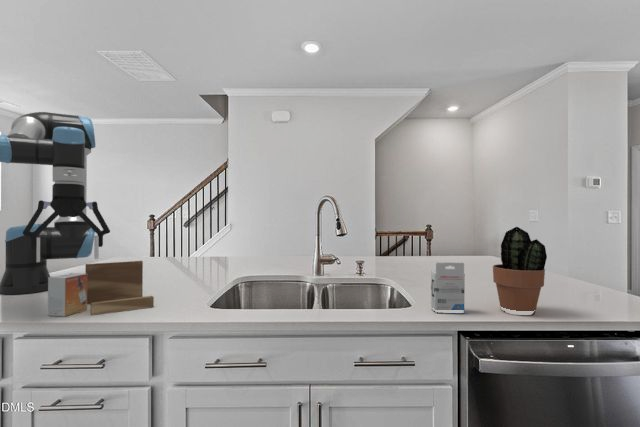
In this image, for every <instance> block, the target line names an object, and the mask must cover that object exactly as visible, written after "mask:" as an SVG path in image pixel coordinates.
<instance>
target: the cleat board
mask: <svg viewBox="0 0 640 427" xmlns="http://www.w3.org/2000/svg"><path fill="white" fill-rule="evenodd" d="M143 264H144V262H143V260H131V261H129V260H128V261H115V262H99V263H86V264H85V271H84V272H85V273H84V274H87V275H88V276H87V305H90V315H91V316H93V315H95V316H97V315H103V314H110V313H119V312H125V311H133V310H142V308H143V309H148V308H149V307H150V308H154V307H155V305H154V302H155V300H154V296H153V295H148V296H143V290H144V289H143V284H144V281H143V278H144V277H143V274H144V273H143V268H144V267H143V266H144V265H143Z"/></svg>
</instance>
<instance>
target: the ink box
mask: <svg viewBox="0 0 640 427" xmlns="http://www.w3.org/2000/svg"><path fill="white" fill-rule="evenodd" d="M449 266H451V267H452V268H446V267H449ZM453 267H454V268H453ZM465 280H466V279H465V263H464V262H447V261H446V262H436V263H435V270H431V272H430V285H431V286H430V304H431V305H430V308H431V307H432V308H434V309H435V310H464V311H465V286H466V285H465V284H466V283H465Z"/></svg>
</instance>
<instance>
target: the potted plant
mask: <svg viewBox="0 0 640 427" xmlns="http://www.w3.org/2000/svg"><path fill="white" fill-rule="evenodd" d="M547 256H548V255H547V250H546V245H544V243H542V242H541V241H539V240H538V239H537V238H535V239H533V240H532V239H531V237H530V235H529V232H528V231H526V230H524V229H522V228H520V227H518V226H515V227H513V228H511V229H509V230H507V231H506V232H505V233H504V235H503V239H502V242H501V244H500V261H501V263H498V264H494V265H492V275H493V277H492V278H493V283H495V286H496V291H497V295H498V300H499V306H501V307H503V308H506V309H510V310H516V311H534V310H537V306H538V303H539V298H540V294H541V289H542V288H543V287H544V286H545V275H546V269H545V267H546V261H547V258H548V257H547ZM501 307H500V308H501Z"/></svg>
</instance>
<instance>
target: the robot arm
mask: <svg viewBox="0 0 640 427" xmlns="http://www.w3.org/2000/svg"><path fill="white" fill-rule="evenodd" d="M10 127H11V128H10V129H11V130H10V131H9V133H8V134H7V135H6V134H1V135H0V163H5V164H27V165H41V166H42V165H44V166H52V182H53V184H52V196H51V197H52V199H51V201H44V200H42V199H41V200H38V205H37V209H36V210H35V212H34V214H33V215H32V217H31V218H30V220H29V221H28V223H27V224H26V225H24V224H23V225H18V226H12V227H9V228H8V229H7V230H6V232H5V240H4V242H5V269H4V273H3V275H2V278H1V279H0V280H1V281H0V294H1V295H25V294H34V293H40V292H44V291H48V277H51V274H50V272H49V270H48V267H47V262H48V260H65V259H82V258H88V257H90V256H91V255H92V252H93V249H94V252H93V254H94V259H95V260H98V259H99V252H100V250H99V248H100V247H101V248H102V247H103V246H104V236H105V235H107V234H109V233H111V229H110V228H109V226H108V225H107V223H106V220H105V219H104V218H103V215H102V214H101V212H100V210H99V208H98V202H97V201H91V202H90V201H89V202H87V190H88V188H87V187H88V186H87V182H88V181H87V176H88V175H87V172H88V171H87V165H88V164H87V163H88V162H87V161H88V160H87V159H88V158H87V157H88V155H90V154H91V153H92V149H95V148H96V137H95V129H94V124H93V121H92V119H91V118H89V117H87V116H81V115H76V114H75V115H73V114H62V113H56V112H48V111H37V112H30V113H26V114H23V115H20V116H18V117H17V118H16V119H15V120H14V121H12V124H11V126H10ZM48 207H51V209H52V210H53V213H51V214H50V216H48V217H47V219H45V220H44V221H43V222H42V223H36V222H37V221H38V219H39V217H40V215H41V214H42V212H43V211H44V210H46V209H47V208H48ZM87 208H89V210H92V212H93V215H94V216H95V218H96V220H97V221H98V223H99V225H100V226H101V228H102V230H101V229H100V228H99V227H98V226H97V225H96V224H95V222H93V221H92V220H91V219H90V218H89V216H87ZM57 217H58V218H57ZM56 218H57V219H56ZM53 221H54V222H53ZM52 222H53V224H54V225H53V226H51V227H49V225H50V224H51V223H52ZM95 234H96V235H95ZM93 247H94V248H93Z"/></svg>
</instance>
